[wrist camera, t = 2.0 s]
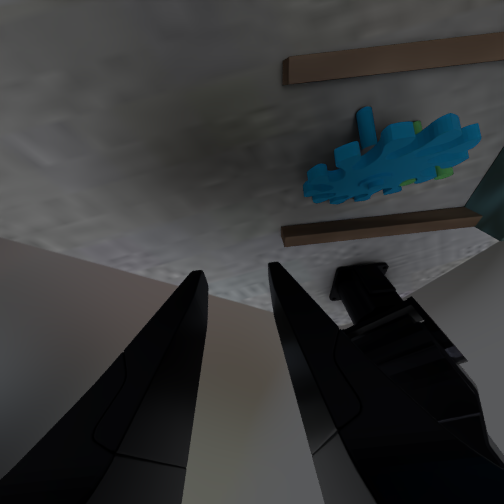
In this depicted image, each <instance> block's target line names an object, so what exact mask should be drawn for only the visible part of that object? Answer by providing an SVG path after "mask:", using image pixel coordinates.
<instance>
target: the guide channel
mask: <svg viewBox="0 0 504 504" xmlns="http://www.w3.org/2000/svg"><path fill="white" fill-rule="evenodd" d="M499 60H504V32H499V33H490V34H481V35H473V36H464V37H455V38H446V39H438V40H429V41H420V42H412V43H403V44H394V45H386V46H377V47H368V48H359V49H351V50H342V51H333V52H325V53H316V54H307V55H299V56H290V57H288V58H286V59H285V60H284V61H283V85H289V84H298V83H306V82H315V81H324V80H333V79H341V78H350V77H359V76H368V75H376V74H385V73H394V72H403V71H412V70H420V69H429V68H438V67H447V66H455V65H464V64H473V63H482V62H490V61H499ZM465 227H476V228H478V229H480V230H481V231H483V232H485V233H487V234H489V235H490V236H492V237H494V238H496V239H497V240H499V241H504V148H503V149H502V151H501V152H500V154H499V155H498V157H497V158H496V160H495V161H494V163H493V164H492V166H491V167H490V169H489V170H488V172H487V173H486V175H485V176H484V178H483V179H482V181H481V182H480V184H479V185H478V187H477V188H476V190H475V191H474V193H473V195H472V196H471V198H470V199H469V201H468V202H467V204H466V205H465V207H458V208H448V209H439V210H430V211H421V212H412V213H403V214H393V215H384V216H375V217H366V218H357V219H348V220H338V221H329V222H320V223H311V224H302V225H293V226H283V227H281V237H282V240H283V243H284V247H290V246H299V245H308V244H317V243H326V242H336V241H345V240H354V239H363V238H373V237H382V236H391V235H400V234H410V233H419V232H428V231H437V230H446V229H456V228H465Z"/></svg>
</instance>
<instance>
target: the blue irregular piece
mask: <svg viewBox="0 0 504 504" xmlns="http://www.w3.org/2000/svg"><path fill="white" fill-rule="evenodd" d="M356 118H357V124H358V130H359V137H360V143H361V149H362V150H361V151H360V147H359V142H358V141H354V142H350V143H347V144H345V145H343V146H340V147H338V148H336V149H335V150H334V157H335V164H336V167H338V168H339V169H337V170H334V171H328V170H327V165H326V164H317V165H315V166H314V167H312V168H311V169H310V170H309V171H307V177H308V181H306V182H305V183H304V185H303V191H304V197H310V196H312V198H313V202H314V203H321V202H324V201H326V200H328V199H329V201H330V204H340V203H343V202H344V201H346V200H347V199H349V198H352V197H354V202H357V201H365V200H368V199H370V196H371V195H372V194H374V193H376V192H378V191H380V190H382V189H383V194H384V195H387V194H392V193H396V192H399V191H401V190H402V187H401V186H405V185H409V184H411V183H415V184H418V183H422V182H425V181H428V180H430V179H433V178H434V179H435V180H438V179H443V178H446V177H449V176H451V175H453V174H454V173H453V168H452V167H453V166H455V165H457V164H459V163H461V162H463V161H465V160H466V159H468V158H469V155H468V150H469V149H472V148H473V147H475V146H476V145H477V144H478V143H479V142H480V140H481V134H480V129H479V125H478V123H477V124H472V125H469V126H466V127H463V128H461V126H460V121H459V117H458V116H457V115H455V114H452V113H449V114H446V115H444V116H442V117H440V118H438V119H437V120H435V121H434V122H432V123H431V124H430V125H429V126H428V127H426V128H425V129H423V130H422V126H421V121H416V122H409V121H408V122H399V123H394V124H390V125H388V126H387V127H386V128H385V129H384V130H383V131H382V132H381V137H380V140H379V141H378V142H377V137H376V131H375V125H374V119H373V113H372V108H371V107H370V106H367V107H364V108H362V109H360V110H359V111H358V112H357V114H356Z"/></svg>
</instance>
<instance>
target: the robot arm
mask: <svg viewBox="0 0 504 504" xmlns="http://www.w3.org/2000/svg"><path fill="white" fill-rule="evenodd" d="M388 267H389V266H388V265H387V264H386V263H377V264H368V265H359V266H349V267H341V268H338V269H337V271H336V275H335V278H334V282H333V286H332V290H331V293H330V300H331V301H336V300H342V302H343V304H344V306H345V308H346V310H347V312H348V314H349V316H350V318H351V320H352V322H353V324H354V325H353V326H351V327H349V328H347V329H343V330H341V329H339V327H338V326H337V325H336V324H335V322H334V321H333V320H332V319H331V318H330V317H329V316H328V315H327V314H326V313H325V312H324V311H323V309H322V308H321V307H320V306H319V305H318V304H317V303H316V302H315V301H314V300H313V299H312V298H311V296H310V295H309V294H308V293H307V292H306V291H305V290H304V289H303V288H302V287H301V286H300V285H299V283H298V282H297V281H296V280H295V279H294V278H293V277H292V276H291V275H290V274H289V273H288V272H287V270H286V269H285V268H284V267H283V266H282V265H281V264H280V263H279V262H270V263H268V276H269V285H270V292H271V299H272V306H273V313H274V318H275V322H276V326H277V330H278V333H279V337H280V341H281V344H282V348H283V351H284V355H285V359H286V363H287V366H288V370H289V374H290V377H291V381H292V385H293V388H294V392H295V396H296V399H297V403H298V407H299V410H300V414H301V418H302V421H303V425H304V429H305V432H306V436H307V440H308V443H309V447H310V451H311V454H312V458H313V462H314V465H315V469H316V473H317V477H318V480H319V484H320V487H321V491H322V495H323V499H324V502H325V504H504V455H503V454H502V452H501V451H500V450H499V448H498V447H497V446H496V444H495V443H494V442H493V440H492V439H491V438H490V436H489V435H488V433H487V430H486V425H485V421H484V416H483V411H482V407H481V402H480V398H479V394H478V389H477V386H476V384H475V383H474V382H473V380H472V379H471V378H470V377H469V375H468V374H467V373H466V372H465V371H464V370H463V368H462V367H461V366H460V365H459V364H461V363H464V362H467V359H466V358H465V357H464V356H463V355H462V353H461V352H460V351H459V350H458V349H457V348H456V346H455V345H454V344H453V343H452V342H451V341H450V340H449V338H448V337H447V336H446V335H445V334H444V332H443V331H442V330H441V329H440V328H439V327H438V326H437V324H436V323H435V322H434V321H433V320H432V318H431V317H430V316H429V315H428V314H427V313H426V312H425V311H424V309H423V308H422V307H421V306H420V305H419V304H418V303H417V302H416V301H415V299H414V298H413V297H412V296H411V297H409V298H407V300H405V301H403V300H402V298H401V297H400V296H399V295H398V293H397V292H396V289H395V287H394V286H393V285H392V284H391V282H390V281H389V280H388V279H387V278H386V276H385V273H386V271H387V269H388ZM207 320H208V283H207V280H206V277H205V274H204V272H203V271H202V270H196V271H192V272H191V273H190V274H189V275H188V276H187V277H186V278H185V280H184V281H183V282H182V283H181V284H180V285H179V287H178V288H177V289H176V290H175V291H174V292H173V294H172V295H171V296H170V297H169V298H168V299H167V301H166V302H165V303H164V304H163V305H162V306H161V308H160V309H159V310H158V311H157V312H156V313H155V315H154V316H153V317H152V318H151V319H150V320H149V322H148V323H147V324H146V325H145V326H144V327H143V329H142V330H141V331H140V332H139V333H138V335H137V336H136V337H135V338H134V339H133V340H132V342H131V343H130V344H129V345H128V346H127V347H126V348H125V350H124V352H122V353H121V354H120V355H119V356H118V358H117V359H116V360H115V361H114V362H113V363H112V365H111V366H110V367H109V368H108V369H107V370H106V371H105V373H104V374H103V375H102V376H101V377H100V378H99V379H98V380H97V382H96V383H95V384H94V385H93V386H92V387H91V388H90V389H89V390H88V391H87V392H86V393H85V394H84V395H83V396H82V397H81V398H80V400H79V401H78V402H77V403H76V404H75V405H74V406H73V407H72V408H71V409H70V410H69V411H68V412H67V413H66V414H65V415H64V416H63V417H62V418H61V419H60V420H59V421H58V422H57V423H56V424H55V425H54V426H53V427H52V428H51V429H50V430H49V431H48V432H47V434H46V435H45V436H44V437H43V438H42V439H41V440H40V441H39V442H38V443H37V444H36V445H35V446H34V447H33V448H32V449H31V450H30V451H29V452H28V453H27V454H26V455H25V456H24V457H23V458H22V459H21V460H20V461H19V462H18V463H17V464H16V466H14V467H13V468H12V469H11V470H10V471H9V472H8V473H7V474H6V475H5V476H4V477H3V478H1V479H0V504H181V503H182V496H183V489H184V482H185V476H186V467H187V461H188V454H189V447H190V441H191V434H192V427H193V420H194V413H195V406H196V400H197V392H198V386H199V379H200V372H201V365H202V357H203V351H204V345H205V338H206V331H207ZM422 320H424V322H422V323H421V322H419V321H422Z"/></svg>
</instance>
